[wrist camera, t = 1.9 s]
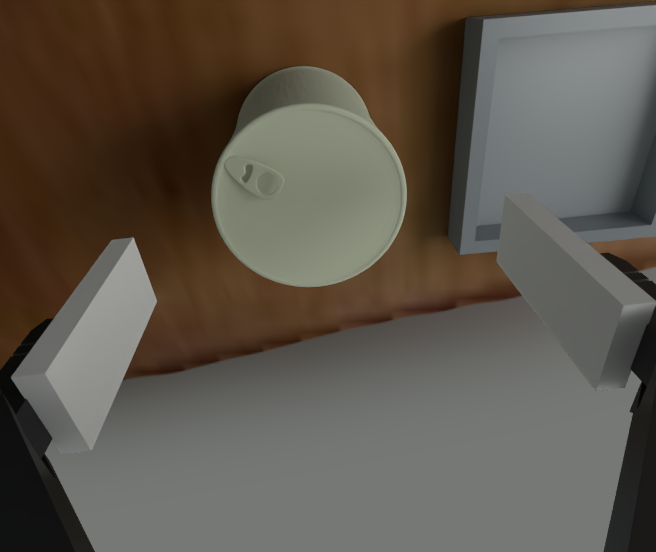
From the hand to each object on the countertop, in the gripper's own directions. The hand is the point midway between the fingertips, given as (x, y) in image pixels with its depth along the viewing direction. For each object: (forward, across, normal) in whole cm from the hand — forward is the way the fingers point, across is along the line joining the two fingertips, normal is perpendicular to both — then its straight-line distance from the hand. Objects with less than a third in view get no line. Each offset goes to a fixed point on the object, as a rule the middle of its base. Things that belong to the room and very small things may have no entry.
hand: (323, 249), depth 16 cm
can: (+17, 0, -1) cm, 17 cm away
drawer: (+17, +19, -2) cm, 25 cm away
